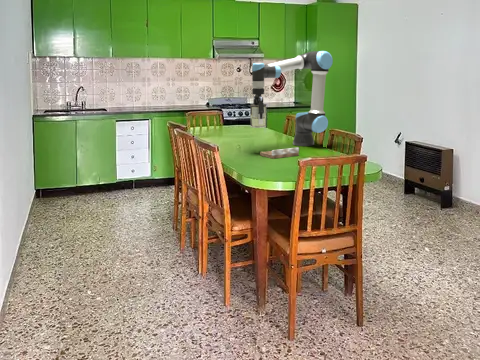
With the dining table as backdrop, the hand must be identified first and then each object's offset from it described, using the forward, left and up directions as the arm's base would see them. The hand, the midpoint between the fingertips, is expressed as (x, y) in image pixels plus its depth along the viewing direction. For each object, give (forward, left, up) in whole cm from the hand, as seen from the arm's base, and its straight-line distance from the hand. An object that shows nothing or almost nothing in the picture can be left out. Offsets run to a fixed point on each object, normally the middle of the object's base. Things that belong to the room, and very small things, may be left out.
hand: (258, 123), depth 323 cm
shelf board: (-7, +14, -20) cm, 25 cm away
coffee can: (0, 0, -3) cm, 3 cm away
